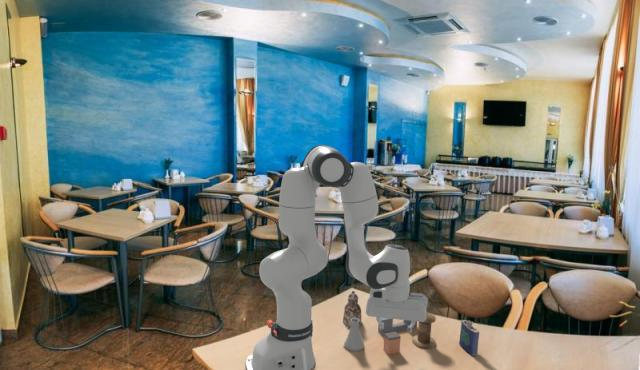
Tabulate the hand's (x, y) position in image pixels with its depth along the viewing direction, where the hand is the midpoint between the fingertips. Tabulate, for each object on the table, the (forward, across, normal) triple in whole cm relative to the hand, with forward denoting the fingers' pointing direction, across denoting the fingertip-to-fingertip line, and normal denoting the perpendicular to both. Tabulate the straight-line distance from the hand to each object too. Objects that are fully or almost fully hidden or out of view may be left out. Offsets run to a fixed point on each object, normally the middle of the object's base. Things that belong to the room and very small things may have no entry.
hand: (395, 330), depth 142 cm
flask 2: (+9, -24, -9) cm, 28 cm away
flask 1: (+8, +14, +1) cm, 16 cm away
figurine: (+7, +18, -16) cm, 25 cm away
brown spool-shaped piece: (+8, -9, -9) cm, 15 cm away
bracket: (+8, 0, -16) cm, 18 cm away
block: (+8, +1, 0) cm, 8 cm away
